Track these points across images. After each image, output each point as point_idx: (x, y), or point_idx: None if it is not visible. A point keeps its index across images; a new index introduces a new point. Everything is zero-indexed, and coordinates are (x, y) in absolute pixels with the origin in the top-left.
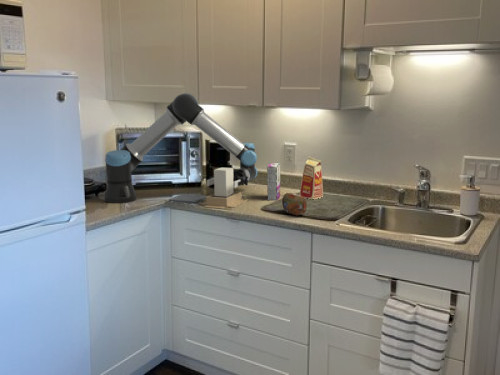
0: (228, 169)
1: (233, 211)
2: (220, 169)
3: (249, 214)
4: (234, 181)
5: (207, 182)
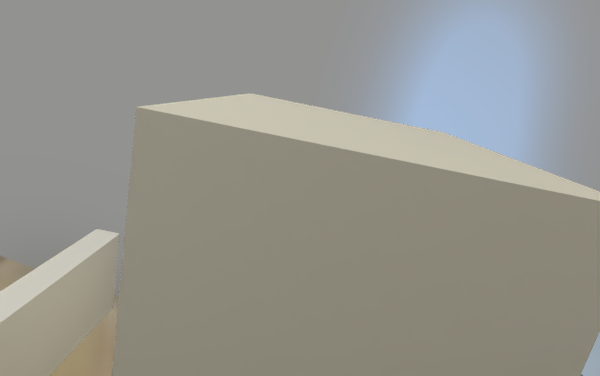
0: (238, 98)
1: (111, 312)
2: (381, 124)
3: (9, 269)
4: (98, 248)
5: None
